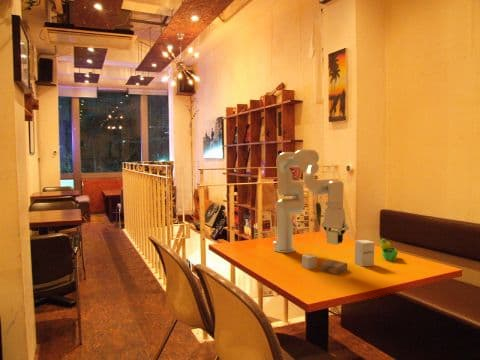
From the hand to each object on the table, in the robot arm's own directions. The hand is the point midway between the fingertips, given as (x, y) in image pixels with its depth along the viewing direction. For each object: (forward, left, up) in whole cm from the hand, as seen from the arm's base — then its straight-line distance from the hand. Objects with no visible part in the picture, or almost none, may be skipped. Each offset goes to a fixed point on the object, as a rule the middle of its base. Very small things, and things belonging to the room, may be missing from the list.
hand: (334, 240), depth 191 cm
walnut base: (0, 0, -16) cm, 16 cm away
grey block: (-12, -4, -15) cm, 20 cm away
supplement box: (+6, +21, -15) cm, 27 cm away
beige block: (0, 0, -1) cm, 1 cm away
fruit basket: (+10, +42, -15) cm, 46 cm away
